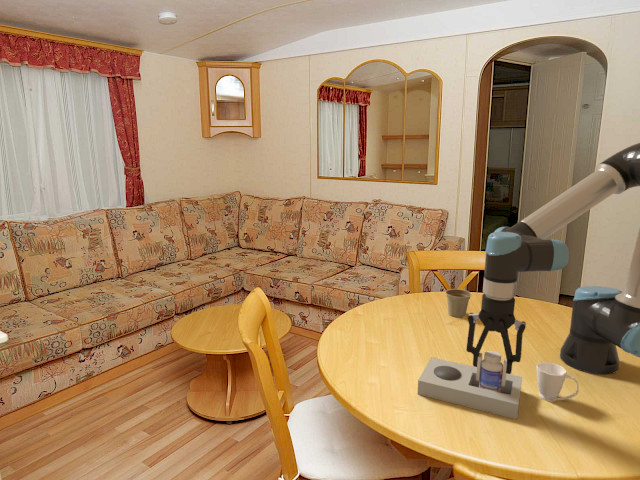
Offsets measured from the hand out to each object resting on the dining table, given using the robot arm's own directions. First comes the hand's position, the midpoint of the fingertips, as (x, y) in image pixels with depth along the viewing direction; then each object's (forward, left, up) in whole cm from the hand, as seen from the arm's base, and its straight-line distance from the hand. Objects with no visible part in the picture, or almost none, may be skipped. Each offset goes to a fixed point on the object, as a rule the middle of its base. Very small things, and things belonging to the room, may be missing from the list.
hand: (490, 380), depth 115 cm
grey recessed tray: (+5, 0, -5) cm, 7 cm away
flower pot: (+18, -53, -5) cm, 56 cm away
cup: (-15, -7, -5) cm, 17 cm away
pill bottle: (0, 0, -3) cm, 3 cm away
